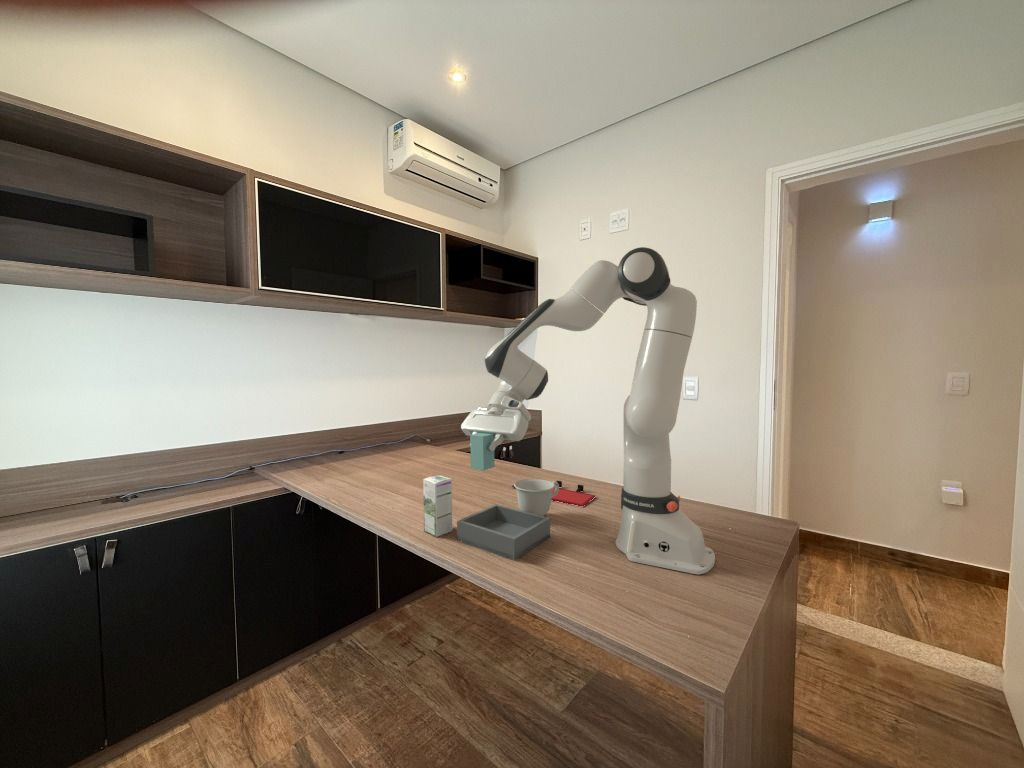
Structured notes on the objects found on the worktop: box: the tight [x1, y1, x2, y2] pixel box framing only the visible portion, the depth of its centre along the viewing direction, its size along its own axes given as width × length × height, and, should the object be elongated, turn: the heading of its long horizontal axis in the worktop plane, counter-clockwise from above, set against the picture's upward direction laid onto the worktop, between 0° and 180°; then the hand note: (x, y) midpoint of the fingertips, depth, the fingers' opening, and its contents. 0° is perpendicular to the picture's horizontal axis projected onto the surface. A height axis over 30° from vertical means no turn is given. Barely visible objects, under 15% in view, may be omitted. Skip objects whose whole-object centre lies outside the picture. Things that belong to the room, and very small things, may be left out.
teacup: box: [513, 478, 559, 517], centre depth 119 cm, size 12×15×10 cm
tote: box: [456, 503, 551, 561], centre depth 104 cm, size 18×16×5 cm
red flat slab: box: [511, 480, 597, 507], centre depth 142 cm, size 30×3×15 cm
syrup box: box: [422, 474, 453, 538], centre depth 108 cm, size 6×6×14 cm
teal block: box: [469, 433, 495, 471], centre depth 108 cm, size 4×4×9 cm
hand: (480, 448), depth 108 cm, fingers closed on teal block, 4 cm apart
